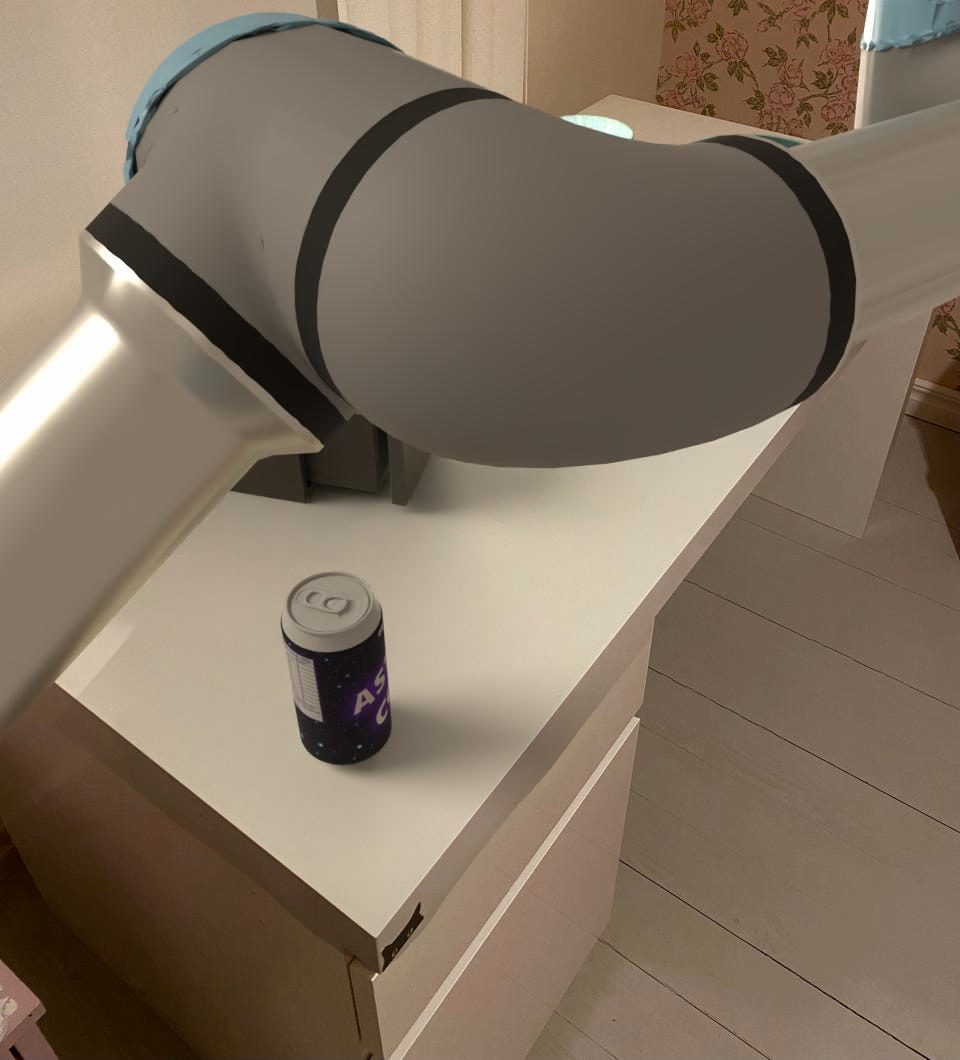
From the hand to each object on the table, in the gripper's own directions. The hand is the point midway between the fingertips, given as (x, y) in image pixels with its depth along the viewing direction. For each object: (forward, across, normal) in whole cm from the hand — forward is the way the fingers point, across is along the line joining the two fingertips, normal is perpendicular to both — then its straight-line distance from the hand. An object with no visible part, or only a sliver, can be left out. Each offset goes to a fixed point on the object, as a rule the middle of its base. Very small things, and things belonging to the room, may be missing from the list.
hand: (432, 276), depth 71 cm
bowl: (-10, +60, -25) cm, 66 cm away
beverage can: (+7, -26, -16) cm, 31 cm away
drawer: (+8, +2, -17) cm, 19 cm away
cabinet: (+19, +5, -16) cm, 25 cm away
